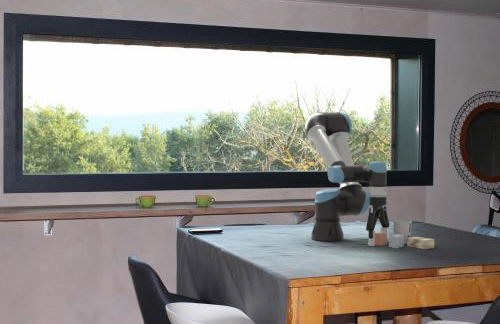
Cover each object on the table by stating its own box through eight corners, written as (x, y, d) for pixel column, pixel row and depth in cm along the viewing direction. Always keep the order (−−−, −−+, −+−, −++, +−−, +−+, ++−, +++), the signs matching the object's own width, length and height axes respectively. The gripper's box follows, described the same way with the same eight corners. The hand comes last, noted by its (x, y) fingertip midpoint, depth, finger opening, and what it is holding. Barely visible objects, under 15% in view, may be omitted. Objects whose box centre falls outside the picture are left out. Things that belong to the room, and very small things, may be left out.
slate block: (397, 248, 288) (397, 236, 287) (388, 247, 290) (388, 236, 290) (403, 246, 293) (403, 235, 293) (395, 245, 296) (395, 234, 295)
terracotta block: (368, 244, 300) (368, 233, 300) (372, 243, 303) (372, 232, 303) (383, 245, 296) (383, 234, 296) (386, 244, 299) (386, 233, 299)
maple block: (407, 246, 293) (407, 237, 293) (417, 245, 297) (417, 236, 296) (424, 249, 285) (424, 240, 285) (434, 248, 288) (434, 239, 288)
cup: (411, 244, 298) (411, 222, 298) (393, 244, 300) (393, 221, 299) (411, 242, 306) (411, 220, 306) (392, 241, 307) (393, 219, 307)
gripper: (374, 198, 286) (374, 247, 287) (396, 194, 307) (396, 241, 308) (358, 197, 291) (358, 246, 291) (381, 194, 311) (381, 240, 312)
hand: (377, 244), depth 299 cm, fingers open, 13 cm apart
